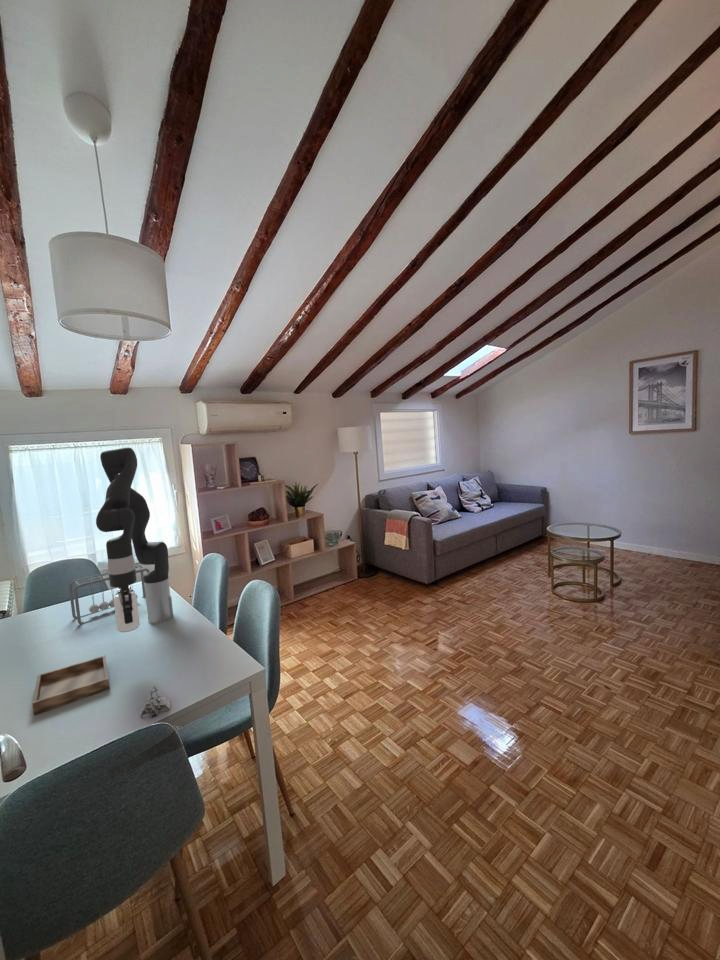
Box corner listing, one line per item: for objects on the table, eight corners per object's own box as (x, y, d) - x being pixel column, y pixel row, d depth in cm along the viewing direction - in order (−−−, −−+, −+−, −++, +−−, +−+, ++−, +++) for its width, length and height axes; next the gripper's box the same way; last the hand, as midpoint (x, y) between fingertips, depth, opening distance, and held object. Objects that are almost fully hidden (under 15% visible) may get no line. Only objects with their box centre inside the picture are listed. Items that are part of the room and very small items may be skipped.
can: (129, 633, 128) (125, 597, 127) (112, 632, 129) (108, 596, 128) (144, 624, 134) (140, 589, 133) (127, 623, 136) (123, 589, 135)
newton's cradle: (145, 599, 198) (141, 564, 196) (153, 603, 191) (149, 567, 189) (72, 620, 176) (67, 581, 175) (78, 627, 169) (73, 586, 168)
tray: (106, 665, 136) (105, 655, 136) (109, 689, 121) (108, 678, 121) (39, 685, 126) (37, 675, 126) (33, 715, 111) (32, 703, 111)
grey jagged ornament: (128, 734, 102) (125, 705, 101) (136, 713, 110) (133, 686, 109) (167, 725, 104) (164, 697, 104) (172, 705, 113) (169, 679, 112)
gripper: (137, 572, 126) (143, 623, 128) (132, 562, 138) (138, 609, 140) (110, 577, 122) (116, 631, 124) (106, 567, 134) (112, 616, 135)
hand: (127, 619), depth 131 cm, fingers closed on can, 5 cm apart
